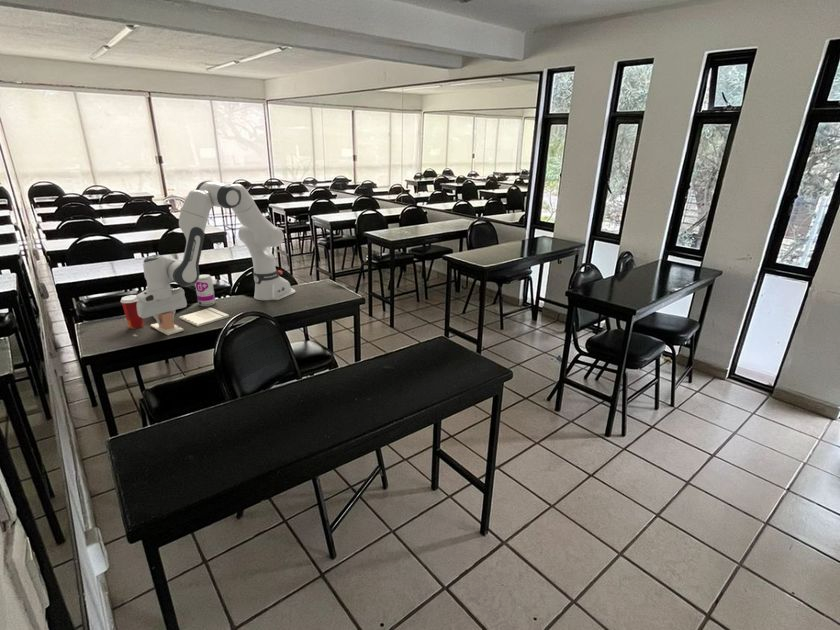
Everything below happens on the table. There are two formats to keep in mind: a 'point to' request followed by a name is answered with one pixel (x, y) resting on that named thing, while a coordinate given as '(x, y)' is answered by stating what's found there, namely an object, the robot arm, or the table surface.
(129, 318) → the paper cup
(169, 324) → the stub
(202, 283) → the supplement can
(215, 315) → the white flat square board
